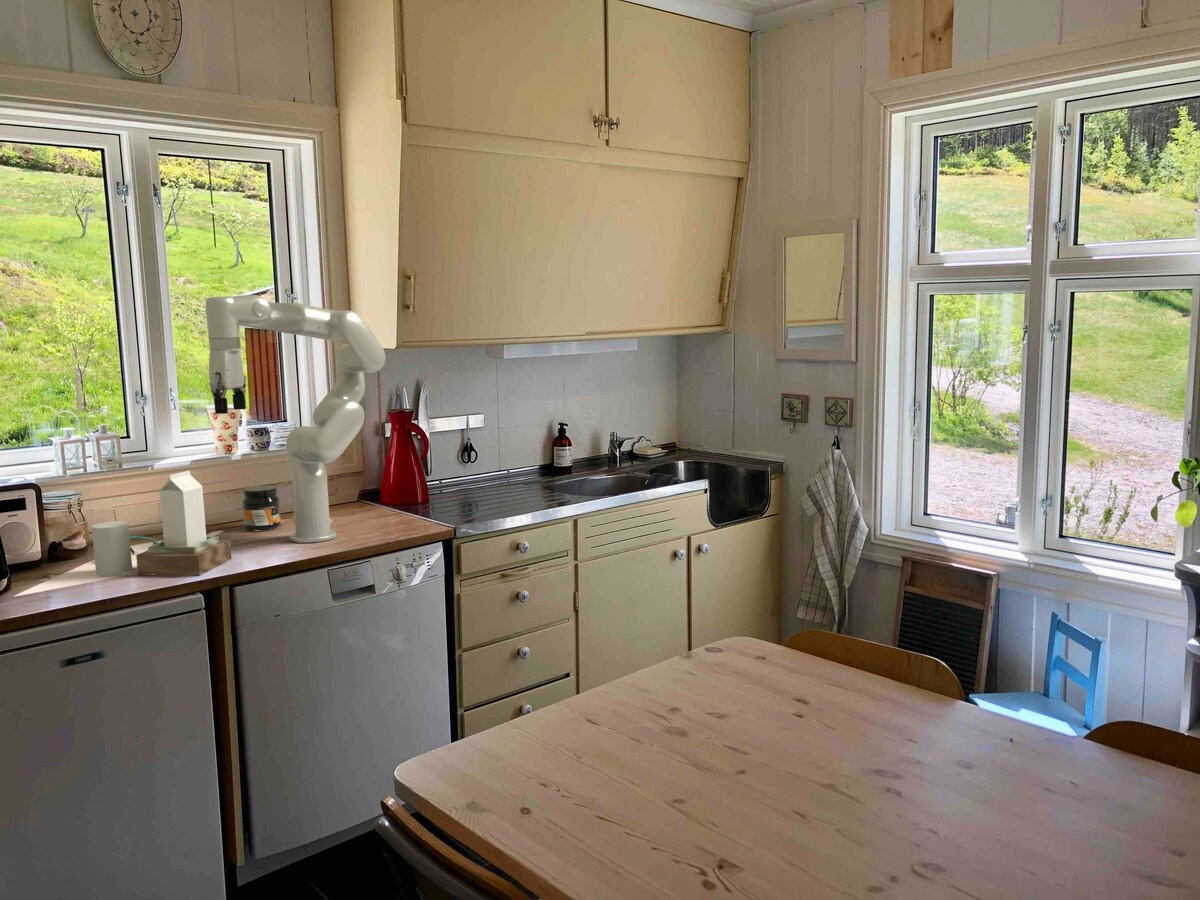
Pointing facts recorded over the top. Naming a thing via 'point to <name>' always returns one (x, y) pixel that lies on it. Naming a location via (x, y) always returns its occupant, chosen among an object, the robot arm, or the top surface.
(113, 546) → the cup
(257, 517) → the supplement container
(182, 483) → the milk carton
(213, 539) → the stand
